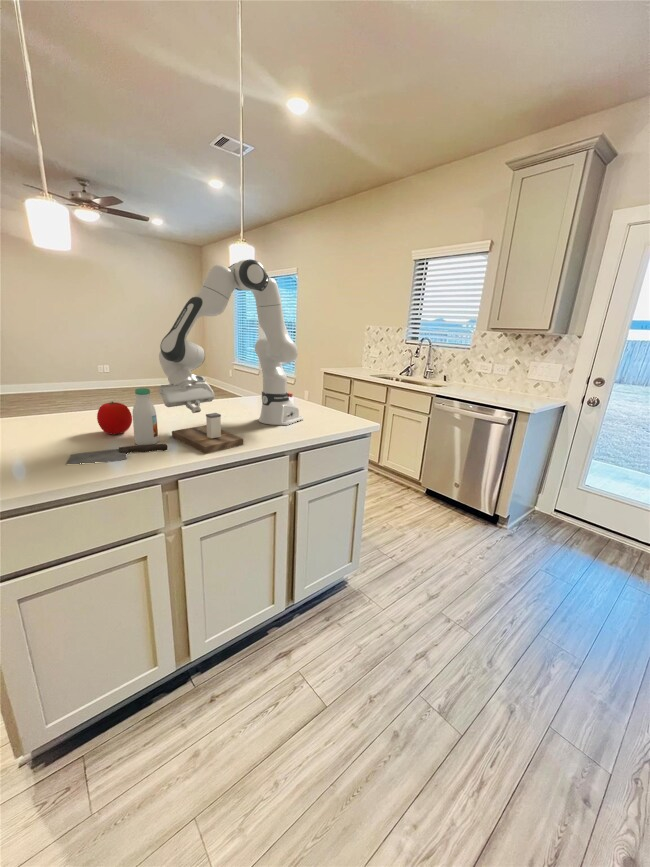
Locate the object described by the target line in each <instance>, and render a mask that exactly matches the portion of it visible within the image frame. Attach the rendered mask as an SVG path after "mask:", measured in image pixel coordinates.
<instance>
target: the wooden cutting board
mask: <svg viewBox="0 0 650 867" xmlns="http://www.w3.org/2000/svg"><path fill="white" fill-rule="evenodd" d="M171 438H173V439H176V440H177V441H179V442H180V443H183V444H185V445H187V446H189V447H191V448H193V449H195V450H197V451H199V452H201V453H203V454H205V455H206V454H210V453H215V452H218V451H223V450H226V449H230V447H231V448H235V447H234V446H236V447H240V446H243V445H244V437H242V436H241V437H240V436H239V435H236V434H234V433H230V432H229V431H226V430H223V429H221V437H217V438H212V439H211V438H209V437H207V424H205V425H198V426H193V427H187V428H180V429H176V430H172V431H171ZM239 445H240V446H239Z"/></svg>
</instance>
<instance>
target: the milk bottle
mask: <svg viewBox="0 0 650 867" xmlns="http://www.w3.org/2000/svg"><path fill="white" fill-rule="evenodd" d="M134 392H135V396H136V399H135V403H134V405H133V408H132V426H133V434H134V444H135V445H149V444H159V443H158V442H159V431H158V419H157V411H156V408H155V406H154V404H153V402H152V400H151V398H150V396H151V390H150V389H149V388H146V387H145V388H144V387H141V388H140V387H139V388H135V390H134Z"/></svg>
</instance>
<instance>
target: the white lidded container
mask: <svg viewBox="0 0 650 867" xmlns="http://www.w3.org/2000/svg"><path fill="white" fill-rule="evenodd" d="M221 417H222V414H220V413H217V412H212V413H206V414H205V419H206V421H205V422H206V425H207V437H209V438H211V439H212V438H217V437H221V430H222V427H221V426H222V423H221V421H222V420H221Z"/></svg>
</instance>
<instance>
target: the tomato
mask: <svg viewBox="0 0 650 867" xmlns="http://www.w3.org/2000/svg"><path fill="white" fill-rule="evenodd" d="M96 420H97V423H98V426H99V428H100V429H101V430H102V431H103V432H104V433H106V434H109V435H118V434H123V433H125V432H127V431H128V430H130V428H131V425H132V424H133V414H132V412H131V410H130V408H129V407H128V406H127V405H125V404H123V403H121V402H119V401H117V402H114V401H111V402H110V401H109V402H106V403H103V404H101V406H100V407H99V408H98V410H97V413H96Z"/></svg>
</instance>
